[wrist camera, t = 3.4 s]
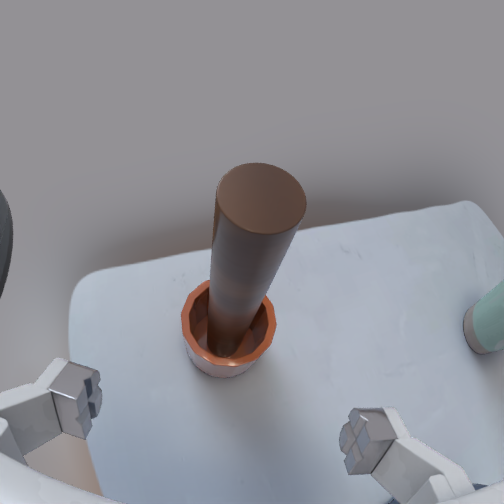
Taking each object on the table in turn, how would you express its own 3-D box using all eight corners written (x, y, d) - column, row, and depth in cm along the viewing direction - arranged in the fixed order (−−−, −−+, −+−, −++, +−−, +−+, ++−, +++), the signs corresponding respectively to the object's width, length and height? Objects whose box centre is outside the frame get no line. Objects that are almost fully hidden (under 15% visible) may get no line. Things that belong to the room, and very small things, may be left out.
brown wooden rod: (208, 358, 24) (221, 236, 8) (204, 326, 25) (212, 163, 9) (242, 355, 24) (316, 231, 9) (237, 323, 26) (295, 162, 10)
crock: (190, 382, 23) (186, 371, 18) (183, 310, 26) (178, 279, 20) (264, 373, 24) (283, 360, 19) (252, 304, 27) (266, 272, 21)
